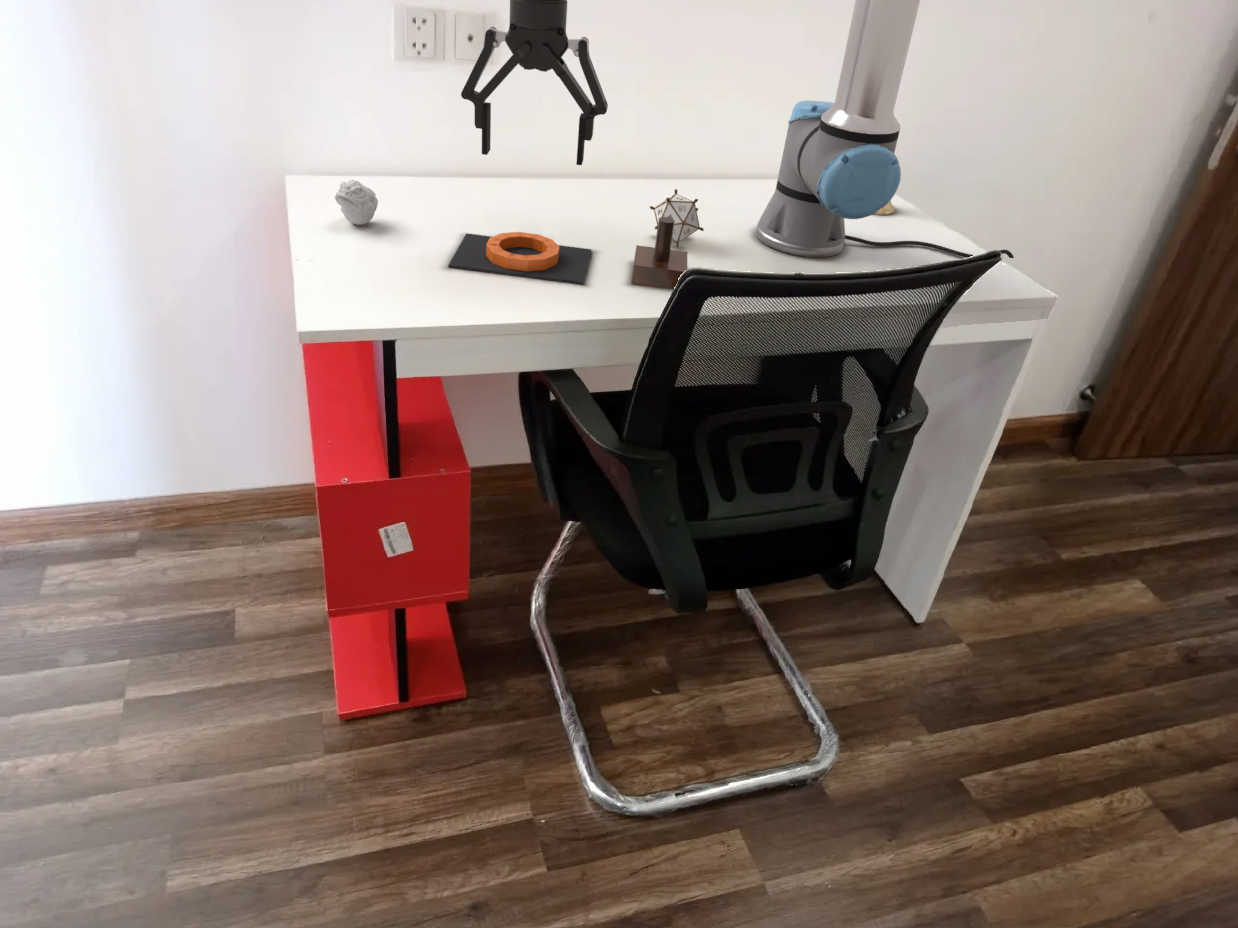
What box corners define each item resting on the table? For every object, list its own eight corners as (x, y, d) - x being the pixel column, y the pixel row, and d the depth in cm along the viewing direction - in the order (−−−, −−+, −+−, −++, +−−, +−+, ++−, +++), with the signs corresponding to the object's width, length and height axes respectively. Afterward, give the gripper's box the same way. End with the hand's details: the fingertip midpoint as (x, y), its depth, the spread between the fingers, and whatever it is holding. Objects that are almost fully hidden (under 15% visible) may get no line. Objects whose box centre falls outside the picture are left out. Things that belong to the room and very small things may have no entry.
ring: (562, 248, 143) (562, 237, 142) (553, 275, 134) (554, 263, 133) (494, 239, 143) (494, 228, 142) (480, 266, 134) (481, 254, 133)
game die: (665, 266, 152) (645, 226, 144) (657, 231, 157) (636, 190, 149) (716, 246, 150) (698, 204, 142) (706, 211, 155) (688, 169, 147)
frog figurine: (327, 225, 141) (324, 181, 137) (357, 213, 147) (354, 170, 143) (359, 235, 139) (356, 190, 136) (387, 223, 145) (386, 179, 141)
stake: (684, 269, 142) (693, 214, 137) (684, 290, 136) (693, 233, 131) (634, 263, 142) (641, 207, 137) (631, 283, 136) (638, 226, 130)
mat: (591, 251, 144) (591, 249, 144) (583, 284, 133) (583, 282, 133) (466, 235, 144) (466, 233, 144) (448, 267, 133) (448, 264, 133)
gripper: (635, 0, 122) (620, 159, 134) (450, -21, 122) (452, 140, 134) (632, 8, 115) (617, 174, 128) (437, -13, 115) (441, 155, 128)
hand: (532, 157), depth 131 cm, fingers open, 13 cm apart
